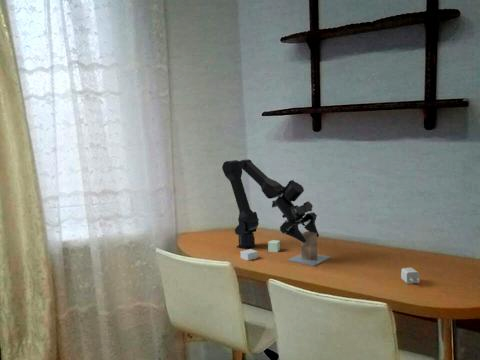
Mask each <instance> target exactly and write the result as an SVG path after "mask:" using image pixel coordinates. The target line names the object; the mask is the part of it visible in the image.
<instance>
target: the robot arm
mask: <svg viewBox="0 0 480 360" xmlns="http://www.w3.org/2000/svg"><path fill="white" fill-rule="evenodd" d="M221 166H222V167H221V169H222V172H223V175H224V176H225V177H226V179H227V180H228V181H229V182H230V185H231V188H232V191H233V195H234V198H235V202H236V204H237V208H238V211H239V214H238V224H237V226H236V227H235V229H234V233H235V235H238V245H236V248H240V249H245V250H248V249H251V248H255V247H256V246H257V244H256V243H255V242H256V241H255V240H256V239H255V236H254V235H255V234H254V233H255V232H256V233H257V228H258V226H259V224H260V223H259V221H260V220H259V217H258V213H257V211H253V210H252V209H251V207H250V204H249V200H248V196H247V193H246V190H245V186H244V184H243V180H242V175H243V171H244V172H245V173H246V174H247V175H248V176H249V177H250V178H251V179H253V181H254V182H255V183H257V185H259V186H260V188H261V192H262V193H263V195H264V196H265V197H266V198H267V199H269V200H270V199H274V198H275V199H274V200H272V201H271V202H272V203H271V208H273V209H274V208H276V207H277V208H278V209H279V211H280V212H281V214H282V215H281V217H282V218H283V219H285V221H284V222H283V223H282V224H281V225H280V226H279V231H280V233H282V234H283V235H284V234H285V235H286V236H290V237H292V238H294V239H296V240H298V241H300V242H301V241H302V242H303V243H305V242H306V240H305V238H304V237H303V235H302V234H301V233H302V232H301V231H300V229H299V225H302V227H303V228H304V229H305V230H306V231H308V232H315V233H317V238H319V237H320V234H319V232H318V229H317V226H316V220H317V217H318V214H316V213H315V212H313V207H314V206H313V204H312V203H311V202H310V201H306V202H303V204H302V205H297V204H296V205H294V203H293V202H296V201H297V200H298V198H300V197H301V195H302V194H303V193H304V192H305V189H304V187H303V185H302V184H300V183H299V182H296V181H295V180H294V179H292V180H289V181H288V183H287V184H286V186H284V185H282V184H281V183H280V182H278V181H276V180H274V179H272V178H270V177H268V176H267V174H265V173H264V172H263V171H262V170H261V169H259V167H257V166H256V165H255V164H254V163H253V161H252V160H251V159H249V158H248V159H241V160H237V159H234V160H233V159H232V160H226V161H224V162H223V164H222V165H221Z"/></svg>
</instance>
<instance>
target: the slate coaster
mask: <svg viewBox="0 0 480 360" xmlns="http://www.w3.org/2000/svg"><path fill="white" fill-rule="evenodd" d="M331 258H332V257H331V256H328V255H321V254H318V253H317V258H316V259H313V260H306V259H301V253H299V254H297V255H294V256H292V257H290V258H288V259H287V261H288V262H292V263H296V264H297V263H298V264H301V265H305V266H306V265H307V266H310V267H316V266H318V265H320V264H321V263H325V262H326V261H328V260H330V259H331Z"/></svg>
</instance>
